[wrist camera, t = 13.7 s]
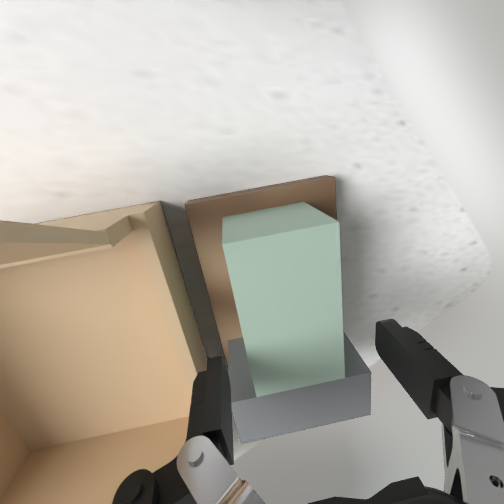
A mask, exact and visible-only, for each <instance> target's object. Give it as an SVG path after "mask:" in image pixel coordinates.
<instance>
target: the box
mask: <svg viewBox="0 0 504 504" xmlns="http://www.w3.org/2000/svg"><path fill="white" fill-rule="evenodd" d="M222 246H223V250H224V255H225V259H226V264H227V268H228V273H229V277H230V282H231V286H232V290H233V295H234V299H235V304H236V308H237V313H238V317H239V322H240V326H241V331H242V335H243V337H241V338H236V339H232V340H228V364H229V380H230V386H231V407H232V414H233V417H234V421H235V424H236V428H237V431H238V435H239V438H240V442H241V444H243V443H247V442H252V441H256V440H260V439H265V438H269V437H274V436H278V435H282V434H287V433H292V432H296V431H300V430H305V429H309V428H314V427H318V426H323V425H327V424H331V423H336V422H340V421H345V420H349V419H354V418H358V417H362V416H367V415H370V413H371V371H370V370H369V368H368V367H367V365H366V364H365V362H364V361H363V360H362V358H361V357H360V355H359V354H358V352H357V351H356V349H355V348H354V346H353V345H352V343H351V342H350V341H349V339H348V338H347V336H346V335H345V333H344V332H343V309H342V282H341V255H340V228H339V221H337V220H335V219H333V218H332V217H330V216H328V215H326V214H325V213H323V212H321V211H319V210H317V209H316V208H314V207H312V206H310V205H309V204H307V203H305V202H300V203H295V204H289V205H284V206H279V207H273V208H268V209H263V210H258V211H252V212H247V213H242V214H236V215H231V216H226V217H223V222H222Z"/></svg>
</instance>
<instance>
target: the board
mask: <svg viewBox="0 0 504 504" xmlns="http://www.w3.org/2000/svg"><path fill="white" fill-rule="evenodd" d="M300 202H305V203H307V204H309V205H310V206H312V207H314V208H316V209H317V210H319V211H321V212H323V213H325V214H326V215H328V216H330V217H332V218H333V219H335V220H337V211H336V186H335V177H332V176H326V175H325V176H319V177H314V178H308V179H303V180H297V181H292V182H287V183H281V184H276V185H270V186H265V187H259V188H254V189H248V190H243V191H238V192H232V193H227V194H221V195H216V196H210V197H205V198H200V199H194V200H189V201H187V203H186V204H185V208H186V212H187V215H188V219H189V223H190V227H191V231H192V234H193V238H194V242H195V246H196V249H197V253H198V257H199V261H200V264H201V268H202V272H203V276H204V279H205V283H206V287H207V291H208V294H209V298H210V302H211V306H212V309H213V313H214V317H215V321H216V325H217V328H218V332H219V336H220V340H221V343H222V347H223V351H224V355H225V358H226V362H227V366H228V370H229V364H228V340H232V339H236V338H241V337H243V335H242V331H241V326H240V322H239V317H238V313H237V308H236V304H235V299H234V295H233V290H232V286H231V282H230V277H229V273H228V268H227V264H226V259H225V255H224V250H223V246H222V222H223V217H226V216H231V215H236V214H242V213H247V212H252V211H258V210H263V209H268V208H273V207H279V206H284V205H289V204H295V203H300Z"/></svg>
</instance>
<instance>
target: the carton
mask: <svg viewBox="0 0 504 504" xmlns="http://www.w3.org/2000/svg"><path fill="white" fill-rule="evenodd" d="M206 370H207V355H206V352H205V349H204V345H203V342H202V339H201V335H200V332H199V329H198V325H197V322H196V319H195V315H194V312H193V309H192V305H191V302H190V299H189V295H188V292H187V289H186V285H185V282H184V279H183V276H182V272H181V269H180V266H179V262H178V259H177V256H176V252H175V249H174V246H173V242H172V239H171V236H170V232H169V229H168V226H167V222H166V219H165V216H164V212H163V209H162V206H161V202H160V201H156V202H151V203H145V204H140V205H134V206H129V207H123V208H118V209H112V210H107V211H102V212H96V213H91V214H85V215H80V216H74V217H69V218H63V219H58V220H52V221H47V222H41V223H36V224H28V223H19V222H10V221H1V220H0V504H112V502H113V498H114V495H115V493H116V491H117V489H118V487H119V486H120V484H121V483H122V482H123V480H124V479H125V478H126V477H127V476H128V475H130V474H131V473H133V472H134V471H136V470H139V469H147V470H149V471H150V472H151V473H153V472H154V471H156V470H158V469H159V468H161V467H163V466H164V465H166V464H167V463H169V462H170V461H172V460H173V459H174V458H175V457H176V456H177V455H178V454H179V451H180V450H181V448H182V447H183V445H184V444H185V441H186V437H187V429H188V421H189V413H190V405H191V396H192V388H193V382H194V380H195V378H196V376H197V374H198V372H202V371H206Z"/></svg>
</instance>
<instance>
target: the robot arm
mask: <svg viewBox="0 0 504 504" xmlns="http://www.w3.org/2000/svg"><path fill="white" fill-rule="evenodd" d="M375 345H376V350H377V352H378V354H379V356H380V358H381V359H382V360H383V361H384V363H385V364H386V365H387V367H388V368H389V369H390V371H391V372H392V373H393V374H394V376H395V377H396V378H397V380H398V381H399V382H400V384H401V385H402V386H403V388H404V389H405V390H406V392H407V393H408V394H409V395H410V397H411V398H412V399H413V401H414V402H415V403H416V404H417V406H418V407H419V408H420V410H421V411H422V412H423V414H424V415H425V416H426V417H427V419H431V418H436V417H438V418H439V419H440V421H441V422H442V440H443V454H444V468H445V482H444V492H443V491H441V490H437V489H435V488H431V487H425V486H424V485H423V483H422V482H421V480H420V479H419V477H414V478H410V479H406V480H401V481H398V482H393V483H391V484H389V485H388V486H386V487H385V488H384V489H382V490H381V491H379V492H378V493H377V494H375V495H374V496H372V497H371V498H369V499H366V500H365V499H353V498H343V497H332V498H328V499H324V500H320V501H316V502H312V503H308V504H504V388H493V387H489V386H488V385H487V384H485V383H484V382H482V381H480V380H478V379H476V378H473V377H470V376H464V375H463V374H462V373H460V372H459V371H458V370H457V369H456V368H455V367H454V366H453V365H452V364H451V363H450V362H448V361H447V360H446V359H445V358H444V357H443V356H442V355H441V354H440V353H439V352H438V351H437V350H436V349H434V348H433V347H432V346H431V345H430V344H429V343H428V342H426V340H425V339H424V338H423V337H422V336H421V335H420V334H419V333H417V332H416V331H414V330H412V329H410V328H408V327H401V326H400V325H399V324H398V323H397V322H396V321H395V320H394V319H387V320H383V321H378V322H377V323H376V339H375ZM233 464H234V459H233V433H232V407H231V386H230V380H229V375H228V372H227V369H226V365H225V362H224V358H223V356H217V357H213V358H208V359H207V370H206V371H202V372H198V374H197V376H196V378H195V380H194V382H193V388H192V396H191V405H190V413H189V421H188V429H187V437H186V441H185V444H184V445H183V447H182V448H181V450H180V451H179V454H178V455H177V456H176V457H175V458H174V459H173V460H172V461H170V462H169V463H167V464H166V465H164V466H163V467H161V468H159V469H158V470H156V471H154V472H153V473H151V472H150V471H149V470H147V469H139V470H136V471H134V472H133V473H131V474H130V475H128V476H127V477H126V478H125V479H124V480H123V482H122V483H121V484H120V486H119V487H118V489H117V491H116V493H115V495H114V498H113V502H112V504H265V503H264V501H263V500H262V499H261V498H260V496H259V495H258V494H257V493H256V491H255V490H254V489H253V488H252V487H251V485H250V484H249V483H248V482H247V481H245V480H244V481H243V480H242V479H241V478H240V477H239V476H238V475H237V473H236V472H235V471H234V470H233V468H232V467H231V466H230V465H233Z"/></svg>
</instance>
